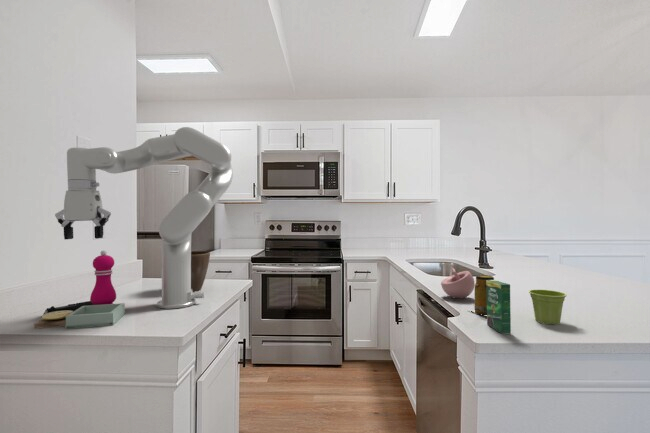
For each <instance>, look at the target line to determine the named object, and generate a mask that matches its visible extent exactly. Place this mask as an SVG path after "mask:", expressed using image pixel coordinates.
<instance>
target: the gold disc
mask: <svg viewBox="0 0 650 433" xmlns="http://www.w3.org/2000/svg"><path fill="white" fill-rule="evenodd" d="M72 312H73V311H70V310H64V311H55V312H50V313H46V314H44V313H43V314H44V315H43V314H42V315H41V320H53V321H56V320H63V318H66V316H67V315H69V314H70V313H72Z"/></svg>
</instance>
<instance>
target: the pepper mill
mask: <svg viewBox="0 0 650 433" xmlns="http://www.w3.org/2000/svg"><path fill="white" fill-rule="evenodd" d="M107 254H108V253H107V250H101V251H100V255H98V256H96V257H95V258H94V259H93V261H92V267H93V269H95V270H94V276H95V284H94V287H93V289H92V292H91V294H90V299H89V301H91V303H92V304H94V305H105V304H114V302H115V301H116V299H117V291H116V290H115V288H114V286H113V283H112V274H113V269H112V268H113V267H114V266H115V259H114V257H112V256H111V255H109V254H108V255H107Z"/></svg>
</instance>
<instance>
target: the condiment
mask: <svg viewBox="0 0 650 433" xmlns="http://www.w3.org/2000/svg"><path fill="white" fill-rule="evenodd" d="M486 280H495V278H494V276H492V275H489V274H488V275H487V274H478V275H476V276H475V285H474V294H473V295H474V310H475V313H474V315H479V314H482V315H483V316H482V315H479V316H481V317H486V318H487V316H484V315H487V293H486ZM471 311H472V310H471V309H470V310H468V312H469V313H472V312H471Z"/></svg>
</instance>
